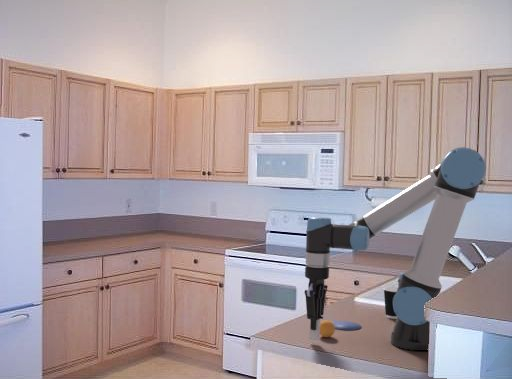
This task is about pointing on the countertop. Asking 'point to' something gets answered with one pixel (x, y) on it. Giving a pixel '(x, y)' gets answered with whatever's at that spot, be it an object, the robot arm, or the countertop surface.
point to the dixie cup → (389, 301)
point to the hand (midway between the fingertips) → (314, 339)
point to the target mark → (346, 325)
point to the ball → (327, 328)
